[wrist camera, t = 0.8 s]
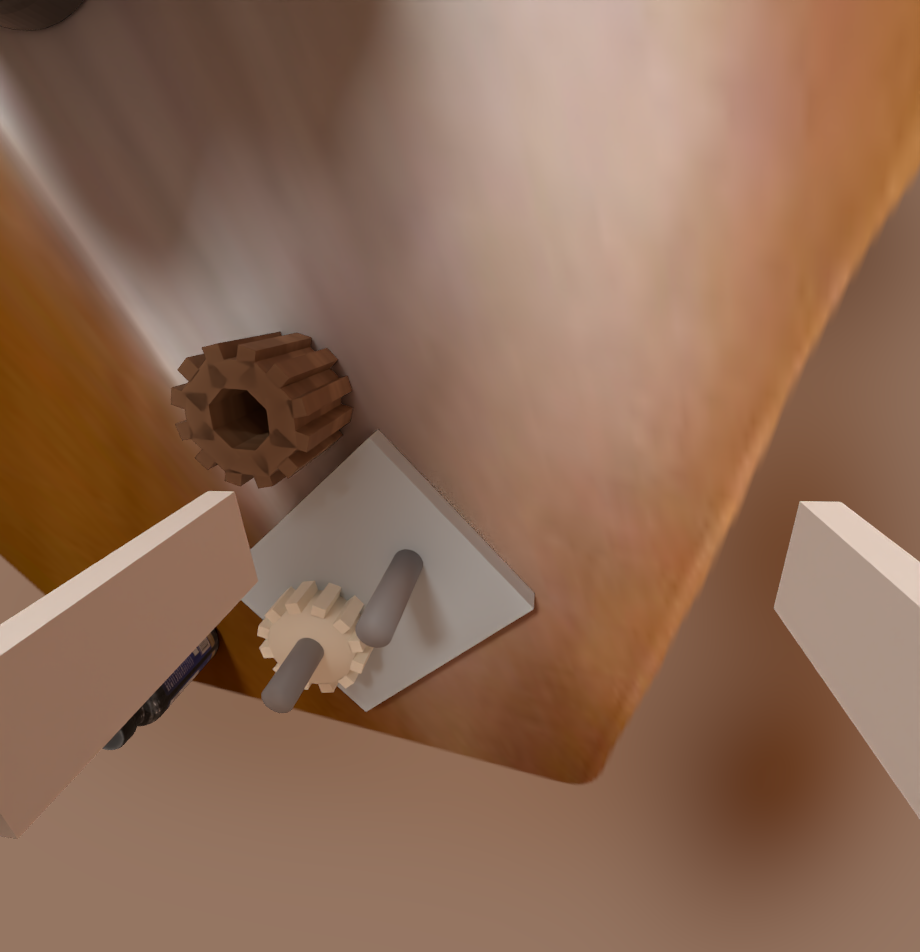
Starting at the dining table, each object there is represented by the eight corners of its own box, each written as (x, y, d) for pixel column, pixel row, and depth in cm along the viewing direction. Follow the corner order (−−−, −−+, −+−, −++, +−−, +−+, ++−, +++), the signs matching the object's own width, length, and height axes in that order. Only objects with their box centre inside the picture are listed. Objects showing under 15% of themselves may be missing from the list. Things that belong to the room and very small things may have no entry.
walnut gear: (217, 389, 36) (145, 412, 30) (285, 304, 33) (222, 309, 26) (303, 473, 37) (253, 513, 31) (377, 401, 34) (338, 428, 28)
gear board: (232, 567, 42) (146, 645, 33) (378, 429, 35) (318, 481, 26) (373, 694, 46) (329, 798, 36) (534, 593, 38) (530, 691, 29)
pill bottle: (160, 601, 46) (51, 692, 36) (218, 612, 45) (123, 708, 35) (170, 650, 48) (71, 748, 38) (225, 662, 47) (138, 764, 37)
